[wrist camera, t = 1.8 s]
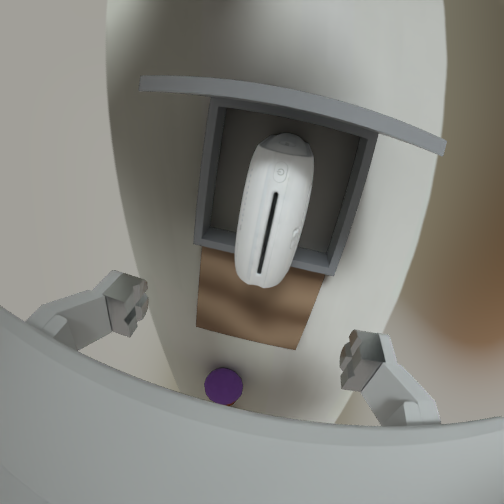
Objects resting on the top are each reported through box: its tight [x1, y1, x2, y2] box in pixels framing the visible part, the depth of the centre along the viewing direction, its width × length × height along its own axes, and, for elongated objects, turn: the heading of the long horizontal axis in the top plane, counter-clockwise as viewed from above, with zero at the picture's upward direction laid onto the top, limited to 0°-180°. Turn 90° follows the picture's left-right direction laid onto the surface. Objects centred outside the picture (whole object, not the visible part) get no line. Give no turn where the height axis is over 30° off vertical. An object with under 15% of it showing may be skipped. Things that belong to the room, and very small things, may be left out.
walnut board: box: [196, 246, 325, 350], centre depth 34 cm, size 13×14×1 cm
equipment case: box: [139, 75, 447, 276], centre depth 21 cm, size 15×15×15 cm
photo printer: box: [235, 133, 314, 288], centre depth 22 cm, size 10×4×12 cm, turn 170°
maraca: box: [204, 368, 243, 406], centre depth 44 cm, size 6×6×20 cm
